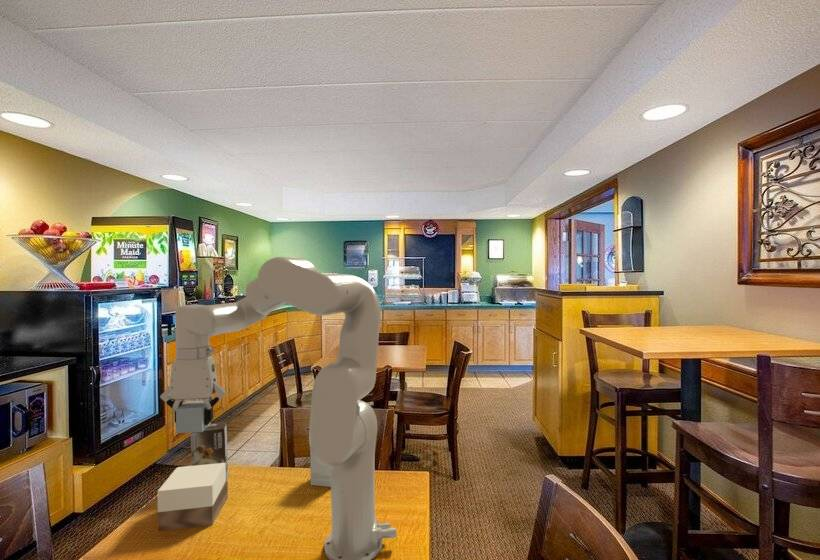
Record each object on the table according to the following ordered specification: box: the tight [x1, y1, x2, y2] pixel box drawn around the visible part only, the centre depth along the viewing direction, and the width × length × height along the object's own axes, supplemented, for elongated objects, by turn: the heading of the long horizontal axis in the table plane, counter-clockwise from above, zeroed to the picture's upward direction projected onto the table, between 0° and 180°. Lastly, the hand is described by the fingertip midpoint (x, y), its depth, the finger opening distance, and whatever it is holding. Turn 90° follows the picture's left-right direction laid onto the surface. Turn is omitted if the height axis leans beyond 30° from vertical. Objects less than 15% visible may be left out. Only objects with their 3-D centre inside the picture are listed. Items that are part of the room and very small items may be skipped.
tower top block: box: [157, 463, 226, 513], centre depth 100 cm, size 12×12×5 cm
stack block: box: [175, 400, 212, 434], centre depth 100 cm, size 6×6×6 cm
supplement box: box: [309, 447, 331, 488], centre depth 115 cm, size 7×7×13 cm
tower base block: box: [157, 480, 229, 531], centre depth 100 cm, size 12×12×5 cm
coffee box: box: [190, 421, 229, 481], centre depth 116 cm, size 9×6×16 cm
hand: (194, 423), depth 100 cm, fingers closed on stack block, 6 cm apart
